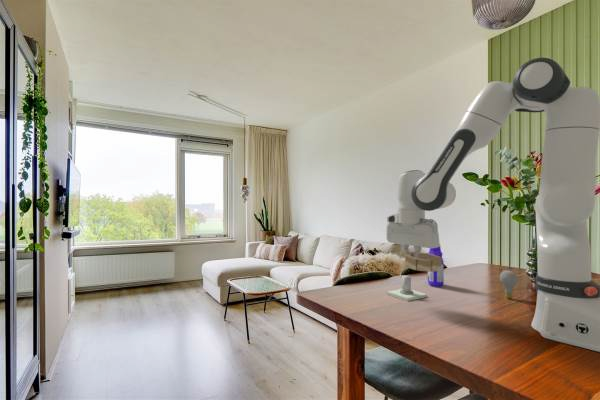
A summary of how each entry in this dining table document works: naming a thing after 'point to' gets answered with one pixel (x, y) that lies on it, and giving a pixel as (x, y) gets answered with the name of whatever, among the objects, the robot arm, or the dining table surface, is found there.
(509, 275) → the light bulb
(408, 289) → the square peg stand
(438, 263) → the ring
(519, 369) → the dining table surface
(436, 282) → the bottle
